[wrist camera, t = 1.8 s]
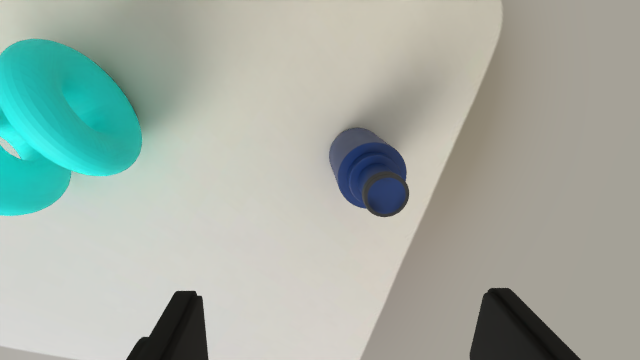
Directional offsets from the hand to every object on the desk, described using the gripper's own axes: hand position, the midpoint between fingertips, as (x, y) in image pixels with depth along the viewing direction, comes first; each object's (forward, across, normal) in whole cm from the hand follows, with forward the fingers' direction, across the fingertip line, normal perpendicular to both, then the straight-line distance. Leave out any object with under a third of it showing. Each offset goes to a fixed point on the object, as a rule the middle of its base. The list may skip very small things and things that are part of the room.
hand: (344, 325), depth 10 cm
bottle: (+21, -4, -1) cm, 21 cm away
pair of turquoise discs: (+21, +20, -3) cm, 29 cm away
